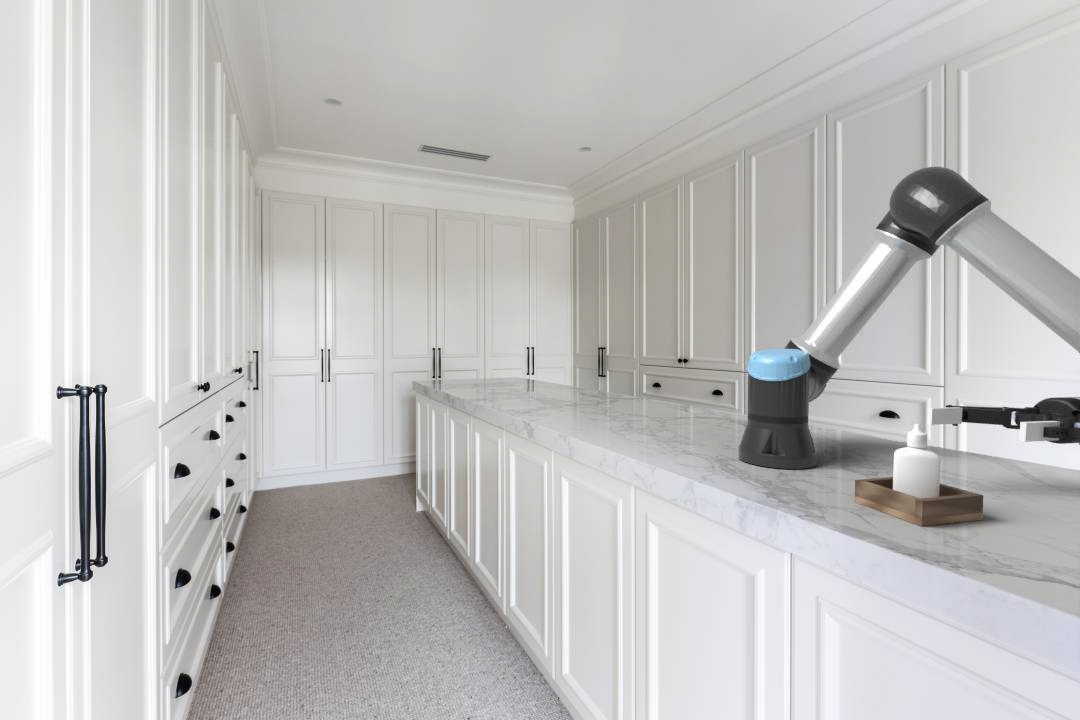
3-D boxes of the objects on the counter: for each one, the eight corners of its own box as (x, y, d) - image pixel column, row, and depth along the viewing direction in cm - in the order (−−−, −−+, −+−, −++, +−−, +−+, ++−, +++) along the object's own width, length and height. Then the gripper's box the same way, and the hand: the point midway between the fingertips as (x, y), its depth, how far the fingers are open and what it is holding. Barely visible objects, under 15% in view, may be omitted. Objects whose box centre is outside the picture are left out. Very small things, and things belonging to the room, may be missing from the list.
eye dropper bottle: (903, 496, 81) (906, 420, 80) (944, 506, 75) (947, 425, 75) (886, 500, 79) (889, 422, 78) (927, 511, 74) (930, 428, 73)
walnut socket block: (854, 501, 81) (855, 479, 81) (909, 496, 84) (910, 475, 84) (921, 526, 70) (922, 501, 70) (982, 519, 73) (983, 495, 73)
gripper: (1179, 461, 73) (1070, 468, 68) (988, 428, 97) (897, 431, 92) (1183, 408, 72) (1074, 411, 67) (990, 389, 96) (899, 390, 91)
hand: (972, 423), depth 80 cm, fingers open, 13 cm apart
